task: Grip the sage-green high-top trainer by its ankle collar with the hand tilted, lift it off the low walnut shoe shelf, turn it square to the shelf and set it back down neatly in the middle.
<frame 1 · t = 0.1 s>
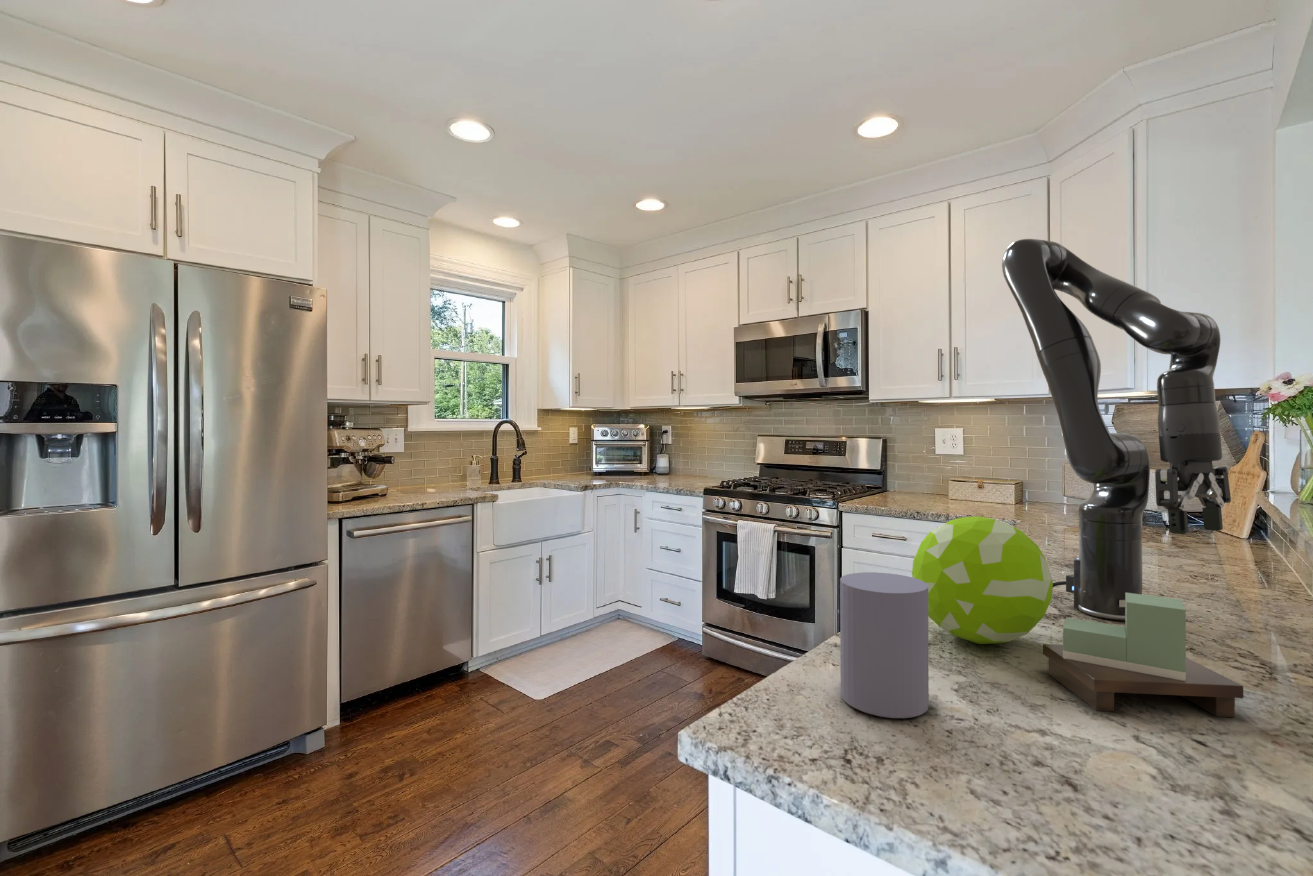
hand: (1196, 532, 96), 17 cm above the counter, tool pointing down, fingers open, 8 cm apart
melon: (980, 639, 96), on the counter
container: (883, 702, 74), on the counter
trainer: (1120, 662, 76), point 4 cm above the counter, touching shoe shelf
shoe shelf: (1133, 693, 76), on the counter
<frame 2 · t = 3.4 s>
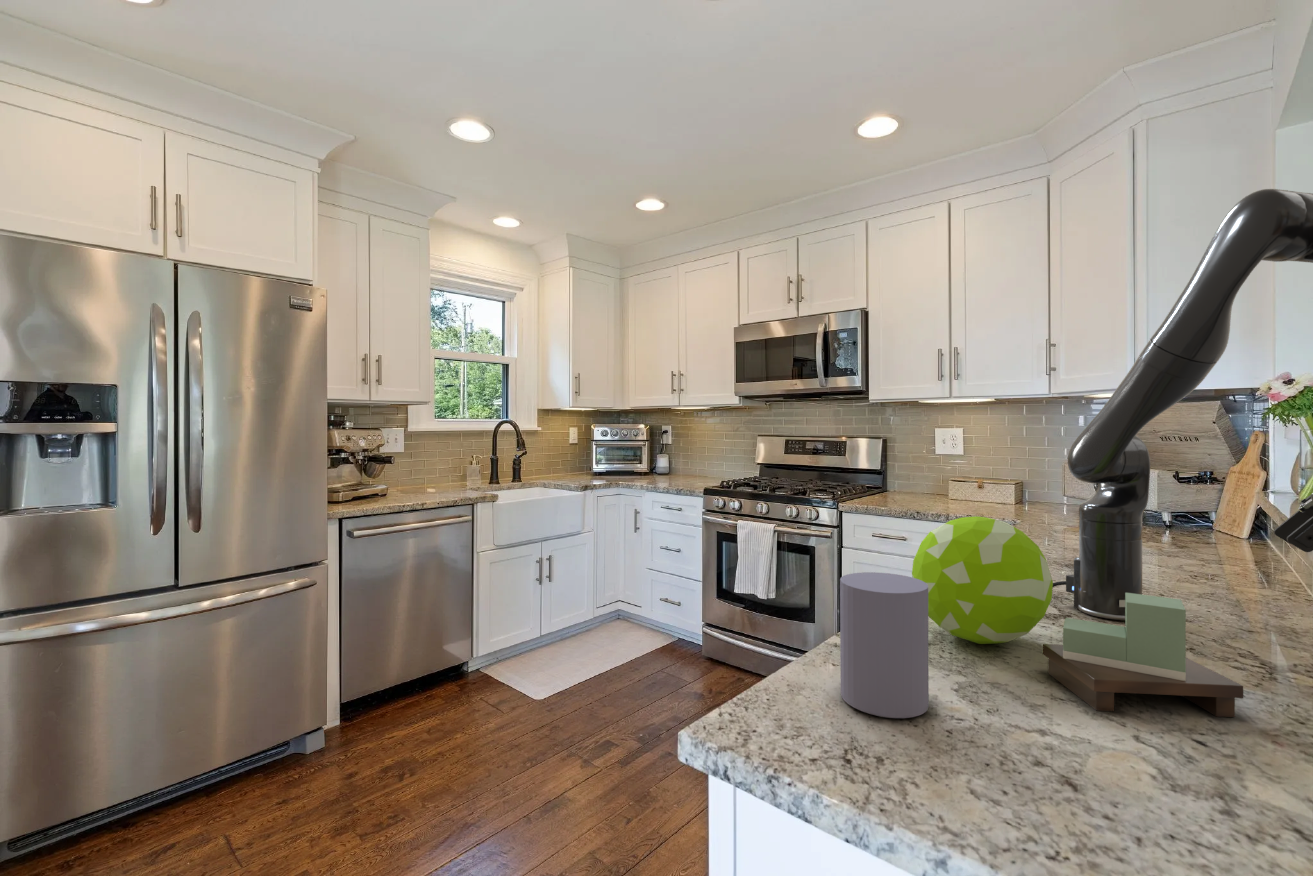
hand: (1288, 542, 69), 21 cm above the counter, tool tilted 40°, fingers open, 8 cm apart
nothing on the counter moved.
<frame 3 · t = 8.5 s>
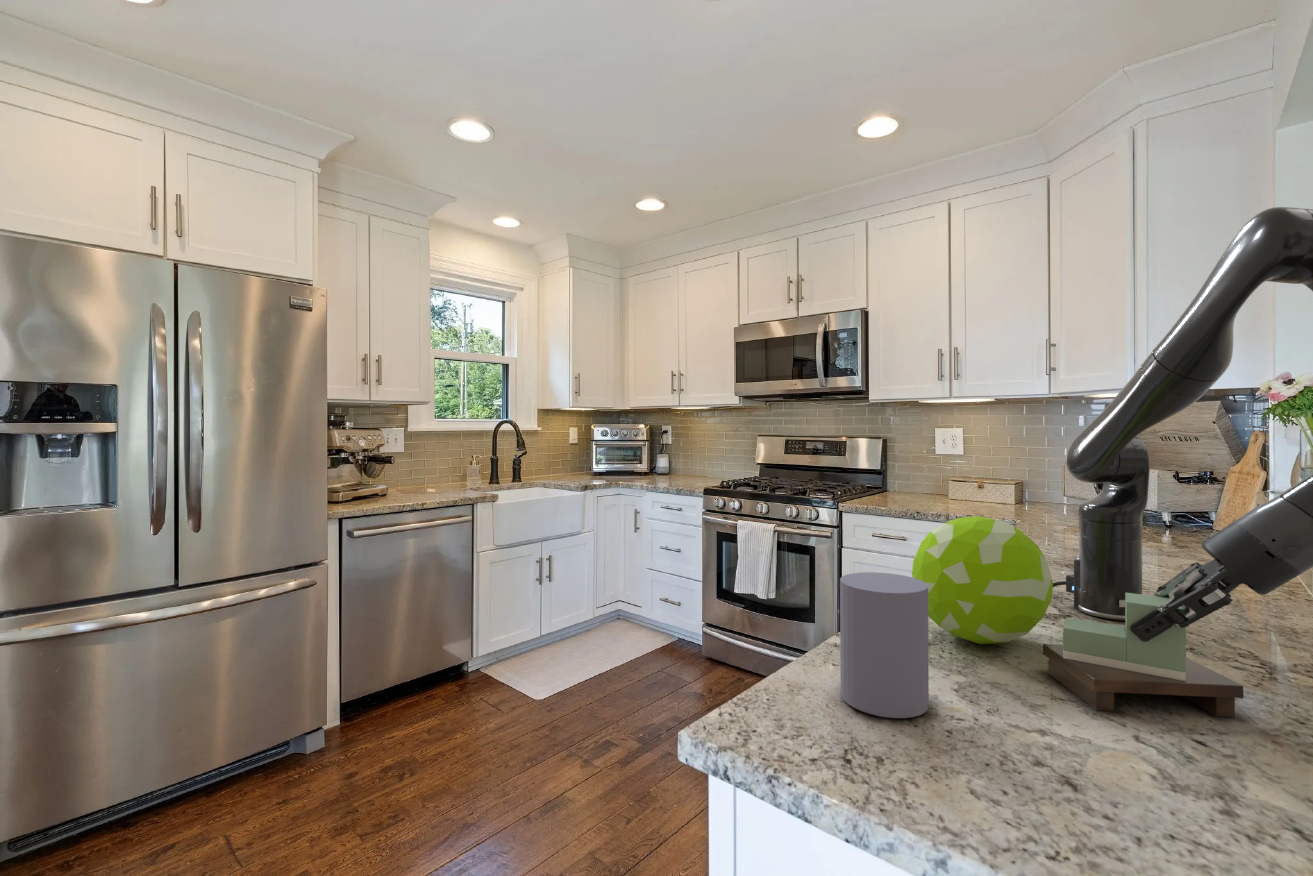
hand: (1135, 628, 75), 9 cm above the counter, tool tilted 45°, fingers closed on trainer, 5 cm apart
trainer: (1120, 662, 76), point 4 cm above the counter, touching gripper, shoe shelf
everything else where it was.
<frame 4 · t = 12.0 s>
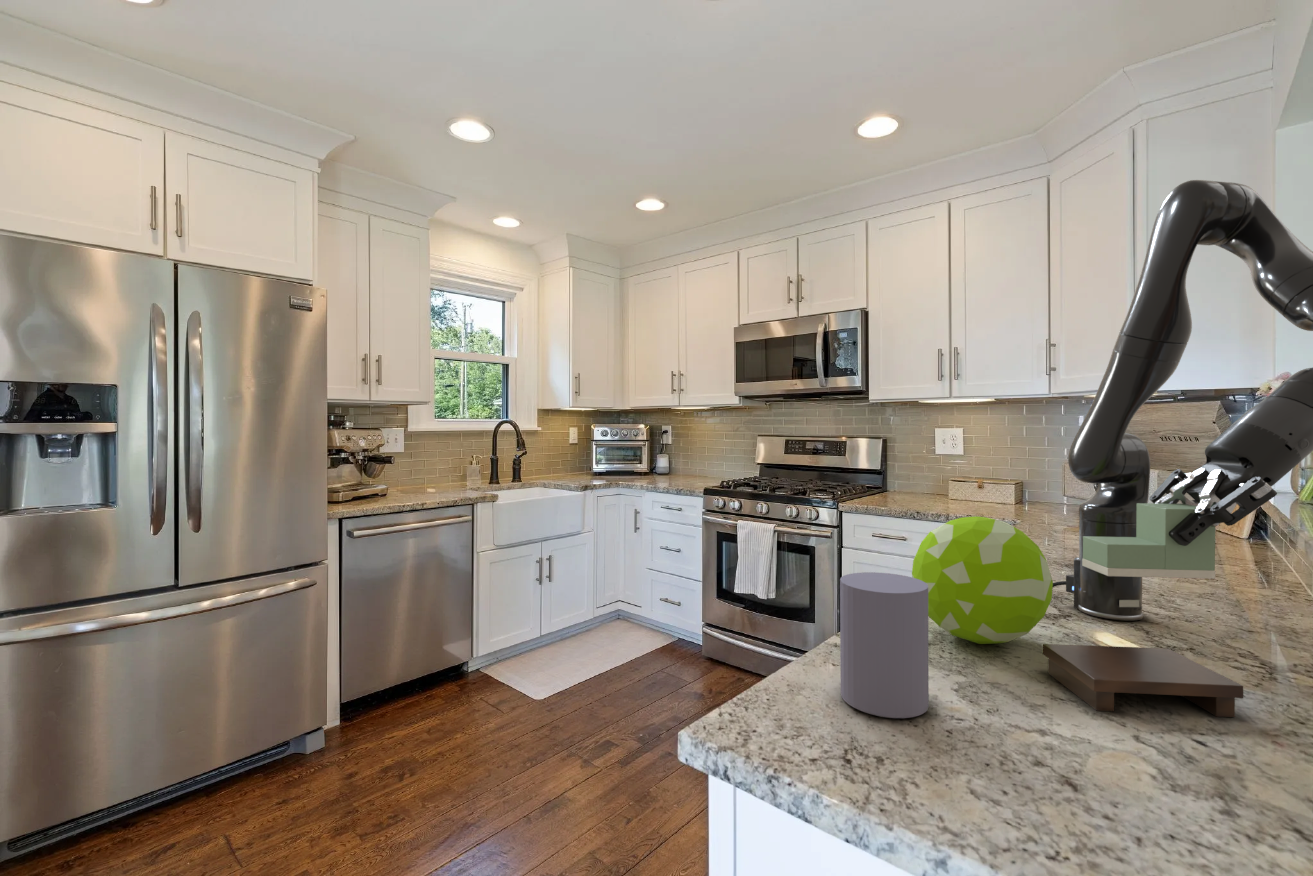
hand: (1159, 535, 75), 20 cm above the counter, tool tilted 45°, fingers closed on trainer, 5 cm apart
trainer: (1145, 572, 75), point 16 cm above the counter, touching gripper
everything else where it was.
when the fingers open (9 cm above the counter, at t = 15.9 s): trainer stays where it is, resting on shoe shelf.
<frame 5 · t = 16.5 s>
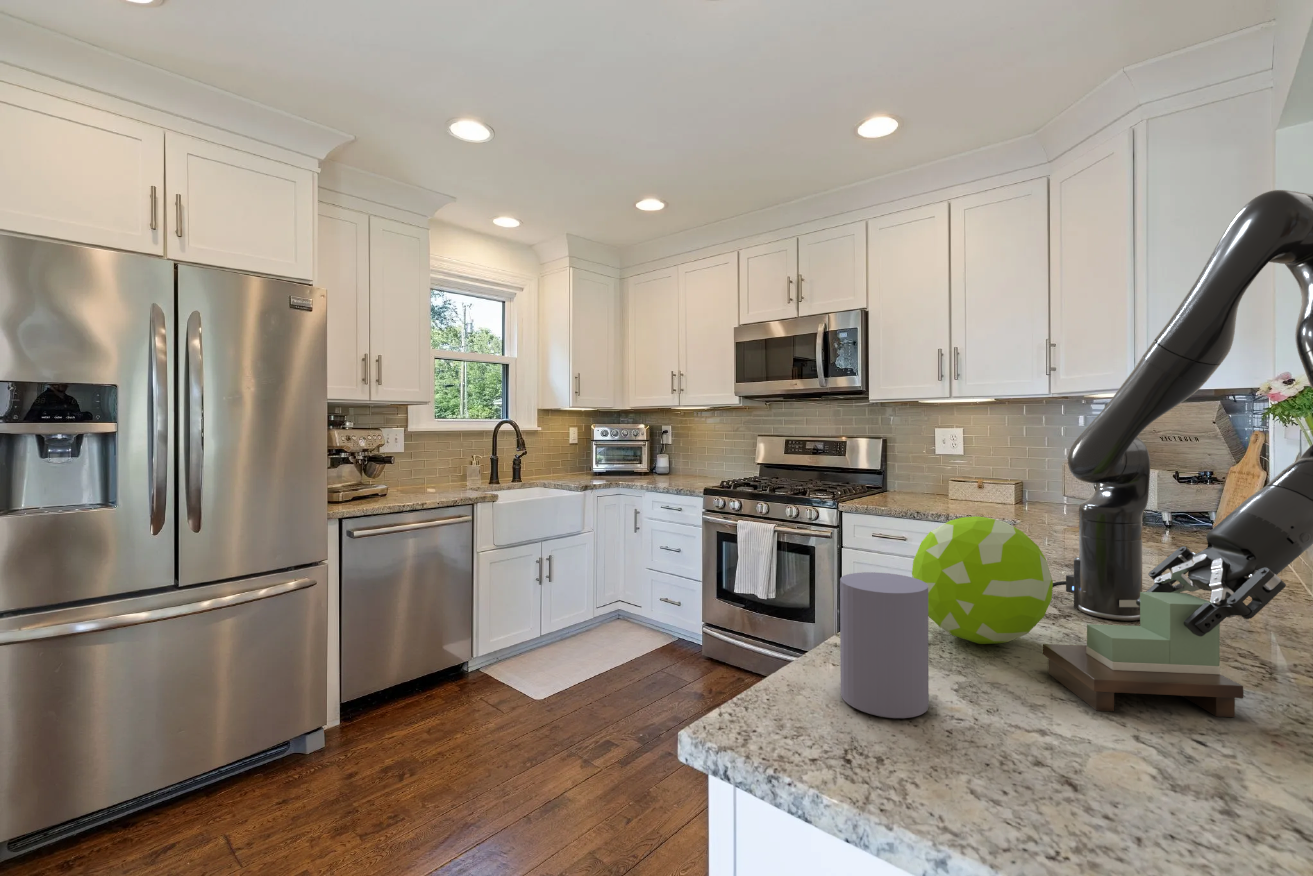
hand: (1165, 619, 75), 10 cm above the counter, tool tilted 45°, fingers open, 8 cm apart
trainer: (1150, 663, 75), point 4 cm above the counter, touching shoe shelf
everything else where it was.
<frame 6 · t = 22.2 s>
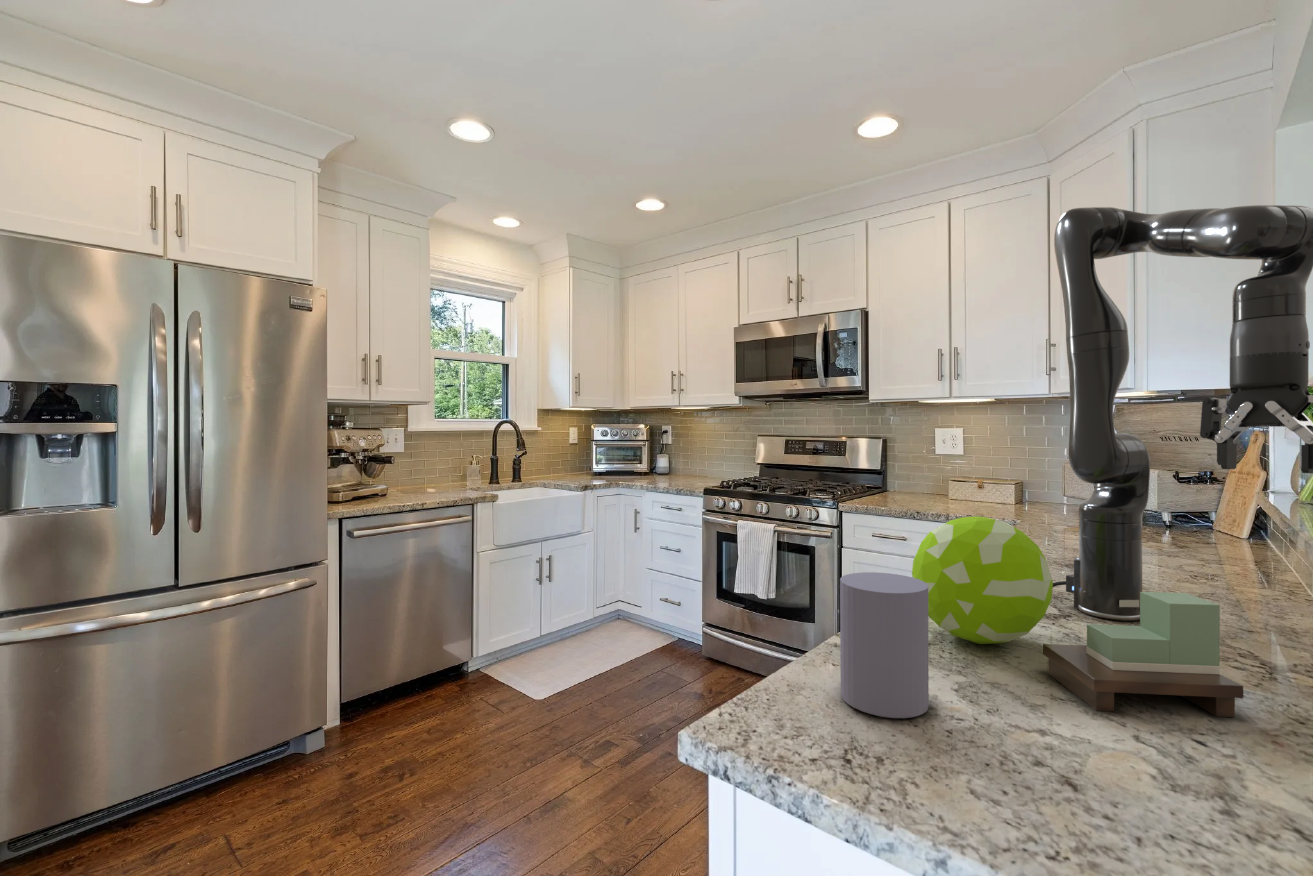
hand: (1267, 471, 81), 28 cm above the counter, tool pointing down, fingers open, 8 cm apart
nothing on the counter moved.
at the end: trainer 0.1 cm from the target spot on the shoe shelf, point 4.0 cm above the shoe shelf's base; trainer tilted 0°; the gripper is holding nothing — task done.
